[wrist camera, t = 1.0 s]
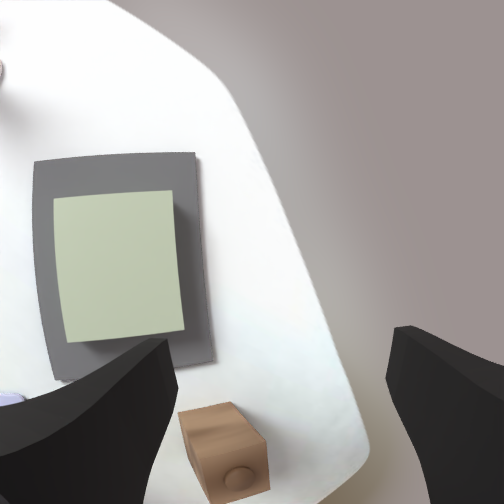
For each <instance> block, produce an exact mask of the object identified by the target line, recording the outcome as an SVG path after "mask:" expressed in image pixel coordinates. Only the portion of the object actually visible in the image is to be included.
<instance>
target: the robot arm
mask: <svg viewBox="0 0 504 504" xmlns="http://www.w3.org/2000/svg"><path fill="white" fill-rule="evenodd" d="M386 382H387V385H388V388H389V392H390V395H391V398H392V401H393V403H394V405H395V408H396V410H397V412H398V414H399V416H400V418H401V421H402V422H403V425H404V427H405V429H406V431H407V433H408V435H409V437H410V439H411V442H412V444H413V446H414V448H415V450H416V453H417V455H418V457H419V460H420V463H421V467H422V470H423V473H424V477H425V481H426V484H427V489H428V494H429V498H430V503H431V504H504V366H502V365H499V364H496V363H493V362H491V361H488V360H485V359H483V358H481V357H478V356H476V355H474V354H471V353H469V352H467V351H465V350H463V349H461V348H459V347H456V346H454V345H452V344H450V343H448V342H446V341H444V340H442V339H440V338H438V337H436V336H434V335H432V334H430V333H428V332H426V331H424V330H422V329H419V328H417V327H414V326H403V327H396V328H394V335H393V341H392V347H391V352H390V358H389V363H388V368H387V373H386ZM177 392H178V384H177V380H176V376H175V372H174V367H173V363H172V358H171V354H170V349H169V344H168V339H167V338H149V339H146V340H145V341H143V342H141V343H139V344H138V345H136V346H134V347H133V348H131V349H130V350H128V351H126V352H125V353H123V354H122V355H120V356H118V357H117V358H115V359H114V360H112V361H110V362H109V363H107V364H106V365H104V366H102V367H100V368H99V369H97V370H95V371H93V372H92V373H90V374H88V375H86V376H84V377H83V378H81V379H79V380H77V381H75V382H73V383H71V384H69V385H67V386H64V387H62V388H60V389H57V390H55V391H52V392H50V393H47V394H44V395H41V396H38V397H35V398H32V399H29V400H24V398H23V397H22V396H21V395H20V394H17V393H0V504H143V500H144V496H145V491H146V487H147V483H148V478H149V475H150V472H151V468H152V465H153V463H154V460H155V458H156V455H157V452H158V450H159V447H160V445H161V442H162V440H163V437H164V435H165V432H166V430H167V427H168V424H169V422H170V419H171V417H172V414H173V410H174V406H175V402H176V397H177Z"/></svg>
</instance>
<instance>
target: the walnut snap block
mask: <svg viewBox="0 0 504 504" xmlns="http://www.w3.org/2000/svg"><path fill="white" fill-rule="evenodd" d="M178 417H179V422H180V426H181V431H182V435H183V439H184V443H185V447H186V451H187V455H188V459H189V461H190V463H191V466H192V468H193V470H194V472H195V474H196V476H197V478H198V480H199V483H200V485H201V487H202V489H203V491H204V493H205V495H206V497H207V499H208V500H209V502H210V504H226V503H229V502H233V501H236V500H240V499H243V498H246V497H249V496H253V495H256V494H259V493H262V492H264V491H267V490H270V481H269V469H268V458H267V446H266V440H265V439H264V438H263V437H262V436H261V435H260V434H259V433H258V432H257V431H256V430H255V429H254V428H253V427H252V425H251V424H250V423H249V422H248V421H247V420H246V419H245V418H244V417H243V416H242V414H241V413H240V412H239V411H238V410H237V409H236V408H235V406H234V405H233V404H232V403H231V402H226V403H222V404H217V405H213V406H208V407H203V408H199V409H194V410H189V411H183V412H178Z"/></svg>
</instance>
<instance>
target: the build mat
mask: <svg viewBox="0 0 504 504" xmlns="http://www.w3.org/2000/svg"><path fill="white" fill-rule="evenodd" d="M168 190H172V196H173V214H174V229H175V242H176V255H177V266H178V277H179V286H180V296H181V305H182V313H183V321H184V329H185V330H179V331H172V332H164V333H157V334H149V335H141V336H132V337H123V338H114V339H104V340H94V341H82V342H70V343H67V338H66V333H65V327H64V322H63V316H62V309H61V302H60V295H59V287H58V278H57V268H56V256H55V240H54V199H56V198H66V197H76V196H87V195H100V194H113V193H129V192H147V191H168ZM32 230H33V252H34V265H35V276H36V285H37V293H38V301H39V307H40V314H41V320H42V325H43V331H44V336H45V341H46V346H47V350H48V355H49V359H50V363H51V367H52V371H53V375H54V378H55V380H70V379H81V378H83V377H84V376H86V375H88V374H90V373H92V372H93V371H95V370H97V369H99V368H100V367H102V366H104V365H106V364H107V363H109V362H110V361H112V360H114V359H115V358H117V357H118V356H120V355H122V354H123V353H125V352H126V351H128V350H130V349H131V348H133V347H134V346H136V345H138V344H139V343H141V342H143V341H145V340H146V339H149V338H167V339H168V344H169V349H170V354H171V358H172V363H173V367H174V368H176V367H182V366H188V365H194V364H199V363H205V362H210V361H213V355H212V347H211V339H210V330H209V322H208V313H207V303H206V294H205V283H204V273H203V262H202V250H201V238H200V225H199V211H198V195H197V178H196V159H195V152H163V153H130V154H111V155H96V156H83V157H72V158H62V159H52V160H44V161H36V162H34V172H33V193H32Z"/></svg>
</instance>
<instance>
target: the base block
mask: <svg viewBox="0 0 504 504" xmlns="http://www.w3.org/2000/svg"><path fill="white" fill-rule="evenodd" d="M54 240H55V256H56V268H57V278H58V287H59V295H60V302H61V309H62V316H63V322H64V327H65V333H66V338H67V343H70V342H82V341H94V340H104V339H114V338H123V337H132V336H141V335H149V334H157V333H164V332H172V331H179V330H185V329H184V321H183V313H182V305H181V296H180V286H179V277H178V266H177V255H176V242H175V229H174V214H173V196H172V190H168V191H147V192H129V193H113V194H100V195H87V196H76V197H66V198H56V199H54Z"/></svg>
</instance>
